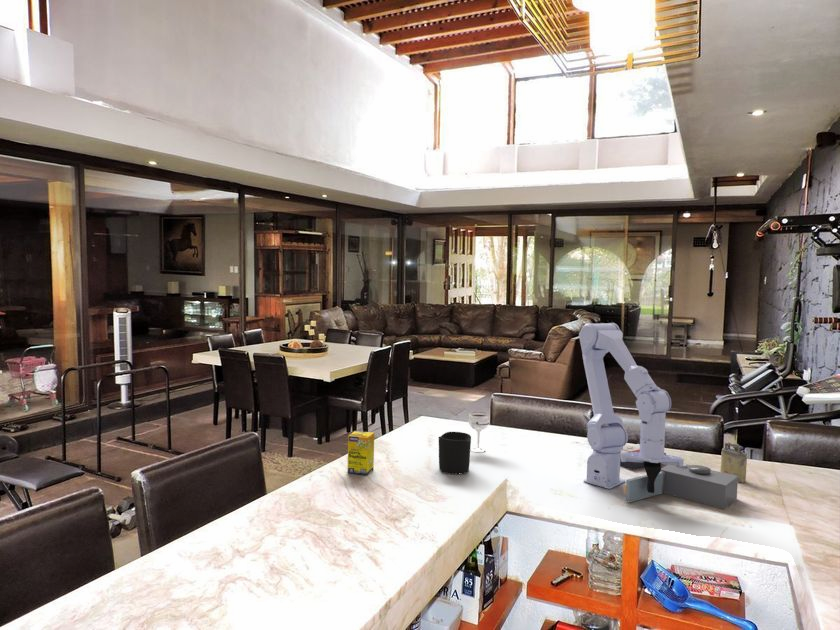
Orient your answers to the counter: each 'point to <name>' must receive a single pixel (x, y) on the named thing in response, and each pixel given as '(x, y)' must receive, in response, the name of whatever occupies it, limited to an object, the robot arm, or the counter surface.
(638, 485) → the side door
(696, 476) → the camera case
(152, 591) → the counter surface
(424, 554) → the counter surface
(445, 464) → the pen holder
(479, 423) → the wineglass
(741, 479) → the lighter
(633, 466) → the calculator
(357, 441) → the supplement box
